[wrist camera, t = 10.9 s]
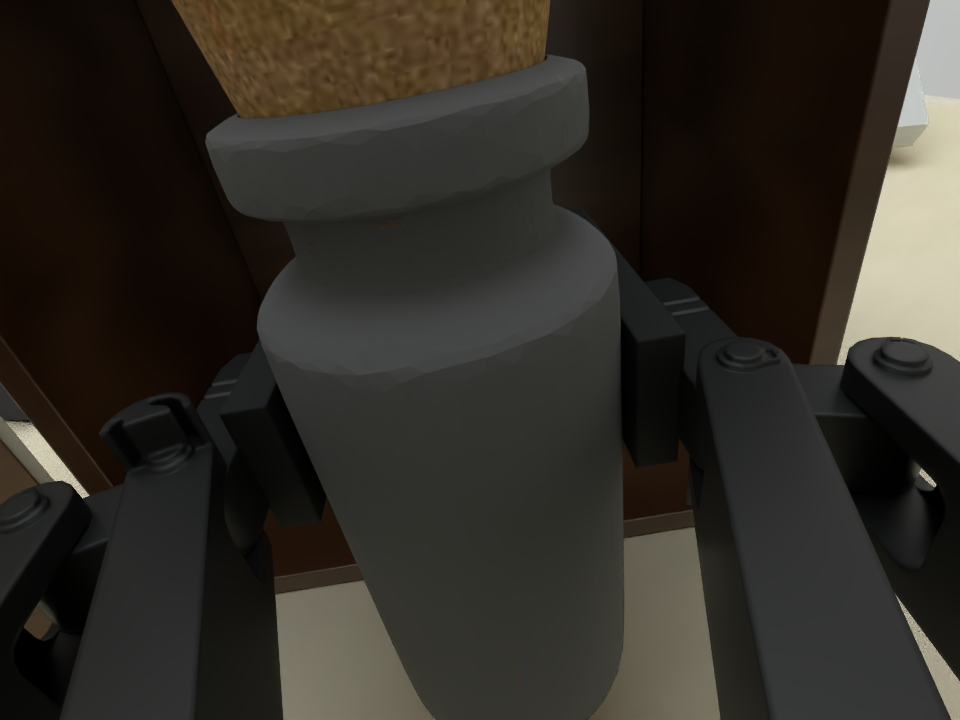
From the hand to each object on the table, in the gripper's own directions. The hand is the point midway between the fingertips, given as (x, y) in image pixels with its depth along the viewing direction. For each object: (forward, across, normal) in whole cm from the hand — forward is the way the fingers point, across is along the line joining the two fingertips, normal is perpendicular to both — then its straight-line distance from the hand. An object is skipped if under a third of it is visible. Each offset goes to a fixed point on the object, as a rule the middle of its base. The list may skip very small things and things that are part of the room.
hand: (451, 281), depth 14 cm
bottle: (-5, 0, -8) cm, 10 cm away
